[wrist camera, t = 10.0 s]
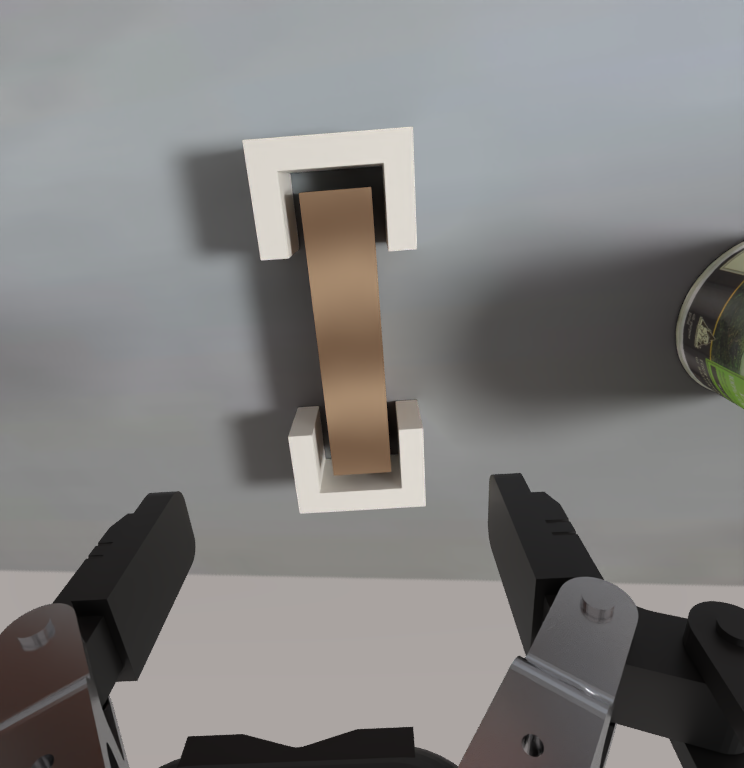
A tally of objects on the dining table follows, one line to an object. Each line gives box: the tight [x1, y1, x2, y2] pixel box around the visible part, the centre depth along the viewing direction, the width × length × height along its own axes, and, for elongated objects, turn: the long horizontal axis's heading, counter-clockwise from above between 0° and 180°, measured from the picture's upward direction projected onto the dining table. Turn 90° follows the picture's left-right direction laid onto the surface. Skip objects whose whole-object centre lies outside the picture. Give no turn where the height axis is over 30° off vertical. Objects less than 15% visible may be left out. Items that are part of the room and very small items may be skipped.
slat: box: [299, 187, 391, 476], centre depth 28 cm, size 16×4×4 cm, turn 4°
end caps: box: [242, 127, 426, 514], centre depth 28 cm, size 21×8×4 cm, turn 4°
